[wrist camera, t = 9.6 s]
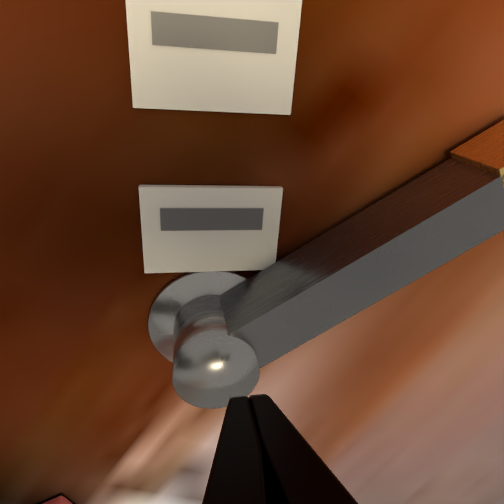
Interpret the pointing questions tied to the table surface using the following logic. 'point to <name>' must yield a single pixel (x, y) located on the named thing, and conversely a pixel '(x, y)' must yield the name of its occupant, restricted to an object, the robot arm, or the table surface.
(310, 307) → the swing arm
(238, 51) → the label tile
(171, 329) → the pivot base
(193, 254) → the label tile
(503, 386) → the table surface
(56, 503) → the ink cartridge box
